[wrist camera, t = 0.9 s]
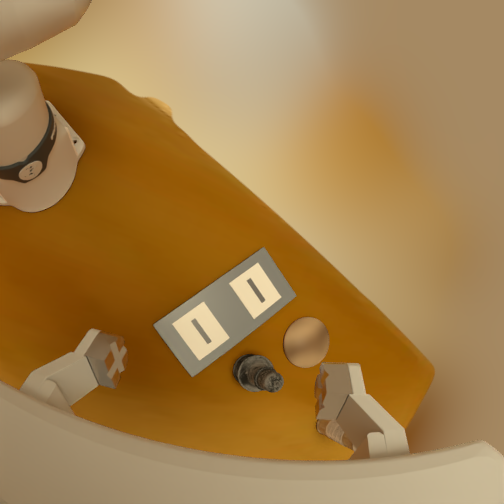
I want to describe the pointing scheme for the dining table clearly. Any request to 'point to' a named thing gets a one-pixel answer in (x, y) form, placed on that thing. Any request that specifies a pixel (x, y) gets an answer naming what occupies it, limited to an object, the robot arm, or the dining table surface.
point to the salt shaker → (257, 374)
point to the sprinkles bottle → (334, 432)
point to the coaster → (306, 342)
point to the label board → (225, 312)
